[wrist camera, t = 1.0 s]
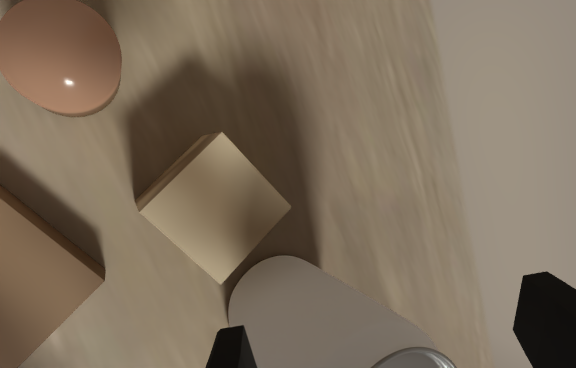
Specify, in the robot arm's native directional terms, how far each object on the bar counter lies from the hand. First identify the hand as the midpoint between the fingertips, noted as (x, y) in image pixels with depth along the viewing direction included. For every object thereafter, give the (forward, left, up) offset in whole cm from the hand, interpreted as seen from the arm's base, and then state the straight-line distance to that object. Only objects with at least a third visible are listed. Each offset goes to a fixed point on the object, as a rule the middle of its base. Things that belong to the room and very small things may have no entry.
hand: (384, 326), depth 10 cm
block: (0, +3, -14) cm, 14 cm away
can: (-1, -5, -14) cm, 15 cm away
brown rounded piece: (0, +12, -14) cm, 18 cm away
